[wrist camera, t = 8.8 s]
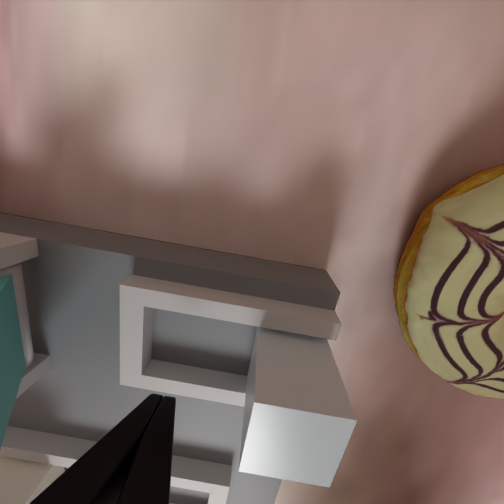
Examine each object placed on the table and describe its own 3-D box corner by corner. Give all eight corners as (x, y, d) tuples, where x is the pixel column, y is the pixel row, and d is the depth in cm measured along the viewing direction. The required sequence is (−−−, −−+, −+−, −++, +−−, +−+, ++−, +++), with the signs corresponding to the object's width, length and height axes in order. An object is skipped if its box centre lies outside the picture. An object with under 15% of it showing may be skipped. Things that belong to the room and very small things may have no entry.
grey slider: (324, 333, 11) (357, 420, 7) (308, 385, 12) (329, 487, 8) (258, 321, 11) (254, 402, 7) (247, 374, 12) (238, 471, 8)
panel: (326, 270, 13) (357, 318, 8) (264, 488, 18) (263, 585, 14) (-53, 203, 13) (-216, 217, 8) (-1, 441, 18) (-83, 523, 14)
